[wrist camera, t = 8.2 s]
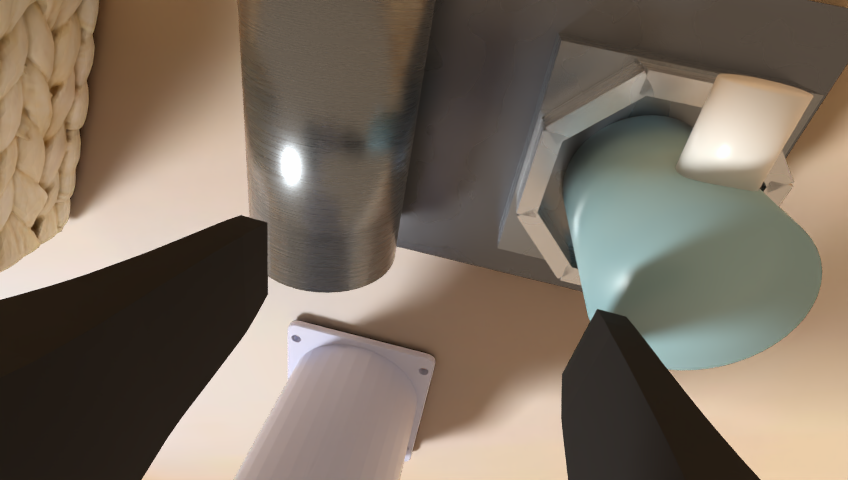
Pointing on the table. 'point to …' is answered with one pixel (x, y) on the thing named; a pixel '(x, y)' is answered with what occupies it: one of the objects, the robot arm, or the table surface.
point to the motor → (481, 116)
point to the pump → (694, 226)
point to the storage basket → (41, 116)
